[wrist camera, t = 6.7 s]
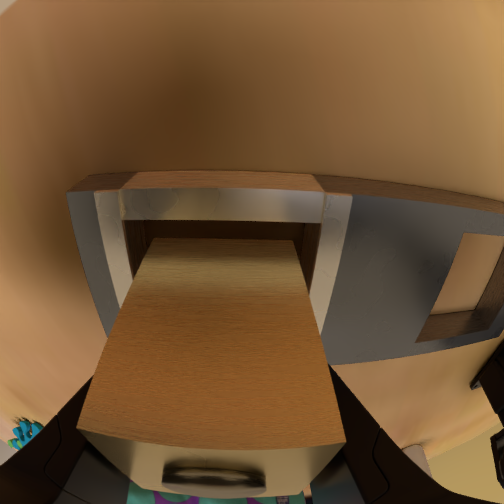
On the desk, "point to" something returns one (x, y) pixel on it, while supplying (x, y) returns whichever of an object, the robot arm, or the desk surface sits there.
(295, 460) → the wooden pull-out drawer
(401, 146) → the desk surface
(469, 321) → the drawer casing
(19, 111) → the desk surface
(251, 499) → the pencil case
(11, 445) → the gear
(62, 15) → the desk surface
